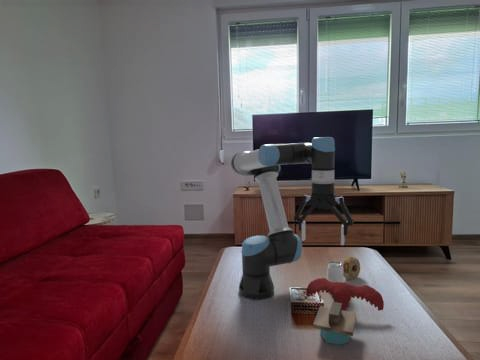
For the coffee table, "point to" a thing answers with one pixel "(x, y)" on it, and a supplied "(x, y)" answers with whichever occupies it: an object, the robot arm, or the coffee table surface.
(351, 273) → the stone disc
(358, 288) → the decorative bird sculpture
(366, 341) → the coffee table surface
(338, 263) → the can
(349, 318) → the walnut lid
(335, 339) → the teal bowl
